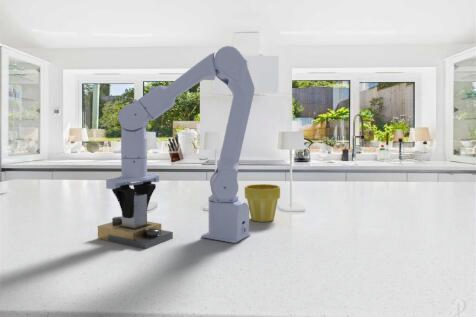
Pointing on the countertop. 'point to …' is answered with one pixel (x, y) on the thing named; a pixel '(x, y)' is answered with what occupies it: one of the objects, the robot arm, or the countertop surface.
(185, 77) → the robot arm
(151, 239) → the brass plate with knob
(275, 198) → the plant pot
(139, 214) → the grey metal block
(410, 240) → the countertop surface
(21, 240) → the countertop surface
